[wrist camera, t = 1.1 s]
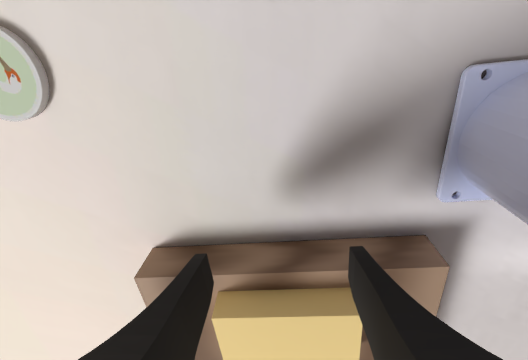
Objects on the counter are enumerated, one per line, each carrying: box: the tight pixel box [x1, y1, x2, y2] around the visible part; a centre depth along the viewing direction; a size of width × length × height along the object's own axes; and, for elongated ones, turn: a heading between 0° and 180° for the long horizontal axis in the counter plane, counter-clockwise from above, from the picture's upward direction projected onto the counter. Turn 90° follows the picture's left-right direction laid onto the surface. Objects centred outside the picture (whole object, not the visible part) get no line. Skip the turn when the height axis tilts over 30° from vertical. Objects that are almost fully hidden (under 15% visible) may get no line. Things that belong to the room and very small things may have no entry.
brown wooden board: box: [134, 235, 450, 360], centre depth 21 cm, size 20×12×3 cm, turn 96°
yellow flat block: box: [211, 288, 362, 360], centre depth 18 cm, size 9×6×2 cm, turn 96°
